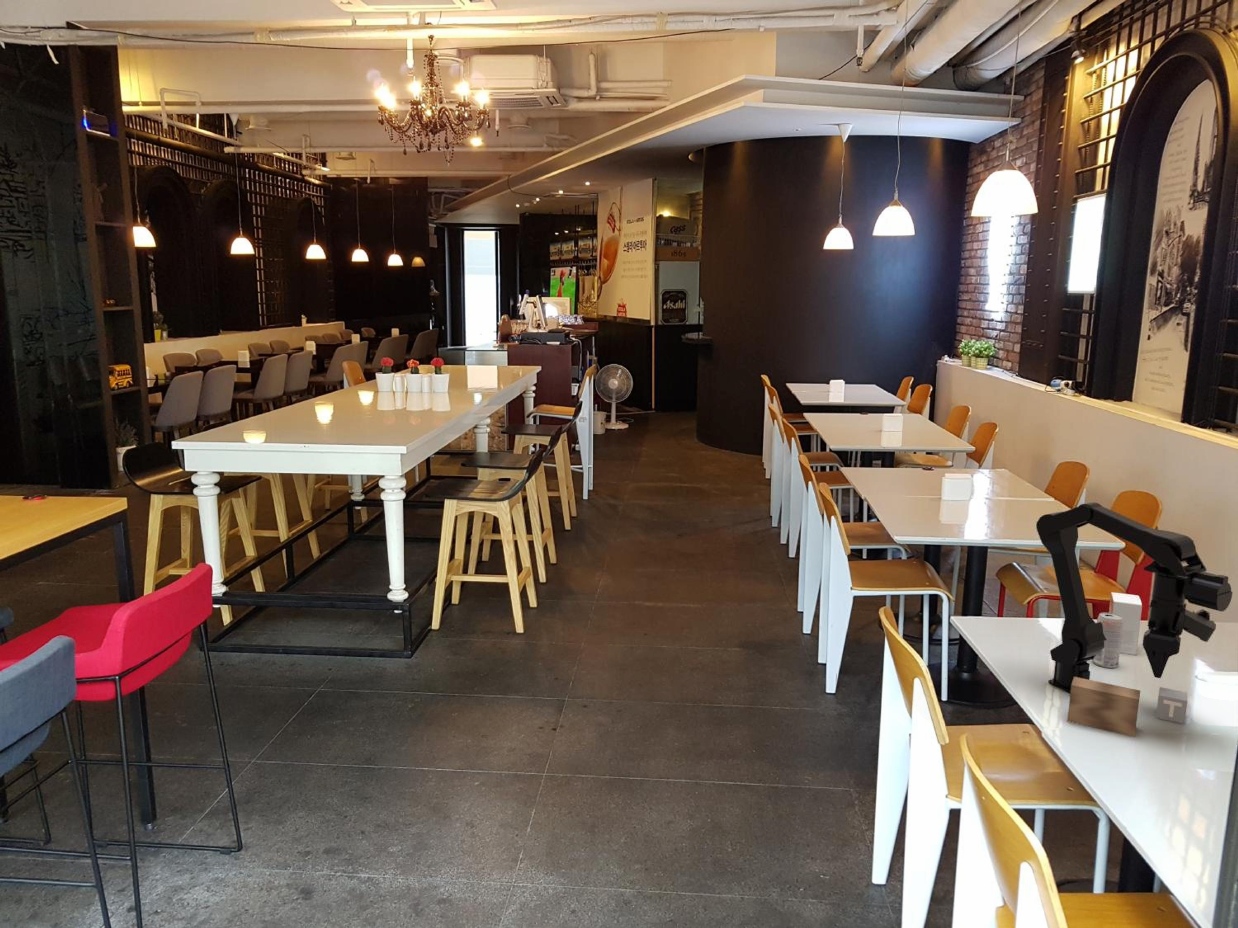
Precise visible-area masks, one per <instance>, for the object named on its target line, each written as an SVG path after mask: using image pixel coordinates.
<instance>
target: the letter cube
mask: <svg viewBox="0 0 1238 928" xmlns="http://www.w3.org/2000/svg"><path fill="white" fill-rule="evenodd" d="M1188 701H1189V699H1188V691H1182V690H1177V689H1174V688H1173V689H1172V688H1167V687H1162V686H1159V689H1158V696H1157V705H1156V715H1155V718H1157V719H1160V720H1161V719H1162V720H1165V721H1170V722H1176V723H1180V724H1185V723H1186V716H1187V707H1188Z"/></svg>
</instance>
